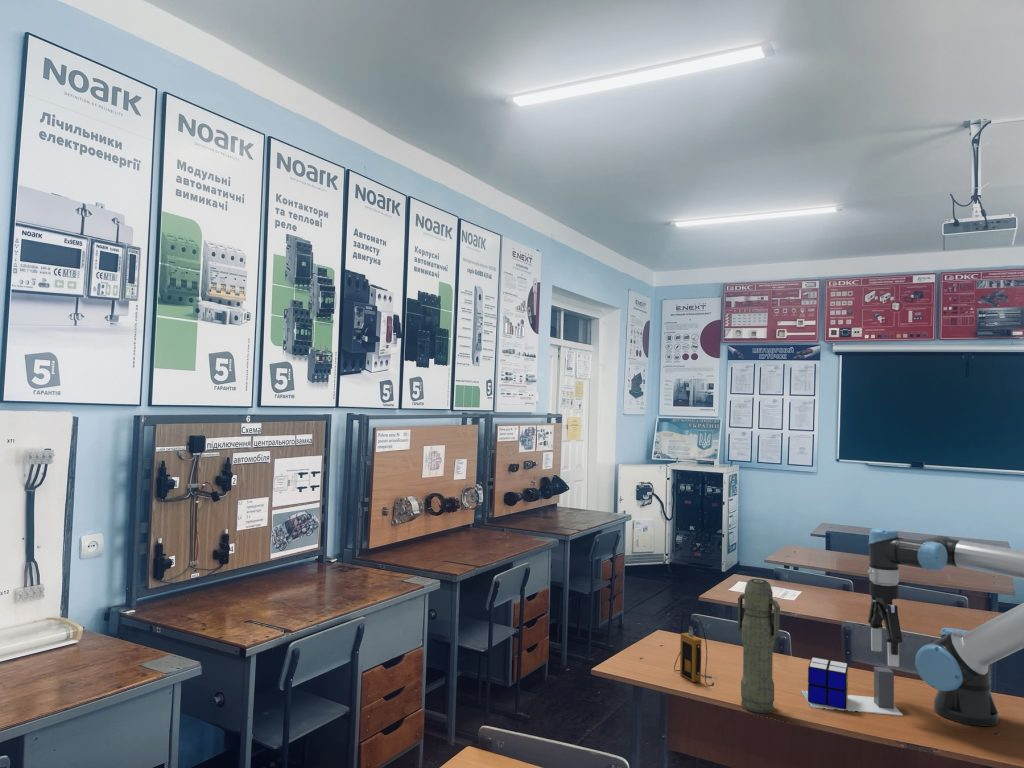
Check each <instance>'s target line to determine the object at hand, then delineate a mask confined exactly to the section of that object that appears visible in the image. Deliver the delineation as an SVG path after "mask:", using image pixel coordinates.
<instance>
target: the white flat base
mask: <svg viewBox="0 0 1024 768" xmlns="http://www.w3.org/2000/svg"><path fill="white" fill-rule="evenodd" d="M894 686H895V673H894V671H893V670H892V669H891V668H889V667H882V666H873V696H864V695H854V694H848V699H847V706H846V709H842V708H837V707H832V706H828V705H822V704H817V703H812V702H809V701H808V690H803V689H802V690H801V694H802V695H803V696H804V698H805V700H806V701H807V703H808V705H809V704H810V705H809V706H810V708H813V709H823V708H825V709H824V710H834V709H838V710H837V711H844V710H848V711H847V712H855V711H858V713H868V714H879V715H890V716H899V717H903V716H904V714H903V713H902V712H901V711H900V710H899V709H898V708H897V706H896V705H895V687H894Z"/></svg>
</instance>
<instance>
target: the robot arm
mask: <svg viewBox="0 0 1024 768" xmlns="http://www.w3.org/2000/svg"><path fill="white" fill-rule="evenodd" d="M868 537H869V538H868V557H869V558H868V559H869V563H868V564H869V565H868V566H869V570H867V574H868V575H869V581H870V582H869V585H868V586H869V591H868V592H869V595H870V596H871V601H870V602H871V603H870V608H869V615H868V618H867V619H868V620H867V622H868V624H870V625H869V626H870V632H871V633H870V643H871V649H870V650H871V651H872V652H883V624H882V623H883V621H884V626H885V630H886V635H887V639H886V644H887V666H888V667H898V668H899V667H900V643H903V637H902V630H901V624H900V619H899V613H898V611H899V610H898V608H899V607H898V605H895V604H894V603H893V600H897V599H899V597H900V586H899V585H898V584H899V583H900V569H899V567H900V566H905V567H906V566H907V567H911V568H912V567H914V568H918V569H923V570H927V571H932V570H933V571H942V570H944V569H945V567H946V566H951V567H955V568H962V569H966V570H972V571H978V572H983V573H987V574H993V575H999V576H1004V577H1007V578H1014V579H1020V580H1024V550H1023V549H1022V550H1021V549H1015V548H1010V547H1009V548H1008V547H1003V546H997V545H990V544H984V543H980V542H979V543H978V542H973V541H967V540H959V539H954V538H952V537H950V536H945V535H937V536H933V537H930V538H924V539H912V538H911V539H910V538H903V537H900V535H899V531H897V530H896V529H891V528H884V527H883V528H882V527H875V528H874V527H873V528H871V529H870V530H869V535H868ZM899 565H900V566H899ZM939 637H940V638H939V639H937V640H935V641H933V642H931V643H929V644H924V645H922V646H921V648H920V649H918V651H917V653H916V654H915V659H914V660H915V663H914V665H915V668H916V671H917V673H918V675H919V677H920V678H921V679H922V680H923V682H924V683H925V684H927V685H928V686H929V687H931V688H933V689H936V690H937V691H936V694H935V696H934V701H933V709H934V711H935V713H937V714H938V715H940V716H942V717H944V718H946V719H948V720H951V721H954V722H958V723H961V724H965V725H969V726H977V727H993V726H996V725H998V724H999V712H998V709H997V705H996V704H995V701H994V698H993V695H992V693H991V665H992V664H993V663H995V662H997V661H999V660H1001V659H1003V658H1005V657H1008V656H1011V655H1012V654H1013V653H1016V652H1018V651H1020V650H1023V649H1024V602H1023V603H1020V604H1019V605H1017V606H1015V607H1013V608H1011V609H1009V610H1007V611H1005V612H1003V613H1001V614H1000V615H997V616H996V617H994V618H992V619H990V620H987V621H986V622H984V623H982V624H980V625H978V626H976V627H974V628H972V629H971V630H964V629H960V628H959V629H958V628H954V627H943V628H941V629H940V634H939Z"/></svg>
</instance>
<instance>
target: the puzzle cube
mask: <svg viewBox="0 0 1024 768" xmlns="http://www.w3.org/2000/svg"><path fill="white" fill-rule="evenodd" d="M848 681H849V664H848V663H846V662H841V661H835V660H829V659H824V658H818V657H811V658H810V662H809V664H808V667H807V691H808V701H809V702H812V703H817V704H822V705H828V706H832V707H837V708H842V709H846V706H847V699H848V695H849V691H848V690H849V684H848V683H849V682H848ZM808 701H807V702H808Z"/></svg>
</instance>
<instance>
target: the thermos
mask: <svg viewBox="0 0 1024 768" xmlns="http://www.w3.org/2000/svg"><path fill="white" fill-rule="evenodd" d="M773 594H774V593H773V589H772V585H771V582H769V581H767V580H766V579H761V578H751V579H749V580H747V582H746V584H745V588H744V593H742V594H740V595H739V597H738V598H737V630H738V631H740V633H741V642H742V644H743V649H742V651H743V652H742V653H743V655H742V657H743V658H742V659H743V661H742V662H743V663H742V666H743V667H742V677H741V680H740V697H741V703H740V705H741V707H743V708H744V709H746V710H747V711H750V712H754V713H759V714H761V713H762V714H768V713H772V712H773V711H774V703H775V681H774V680H773V658H774V657H773V654H774V653H773V648H774V647H775V639H777V638H778V637H779V636H780V616H781V615H780V614H781V611H780V610H781V606H780V605H779V602H778V601H777V600H774V598H773ZM743 600H744V601H743ZM743 604H744V606H743ZM743 607H744V612H743ZM772 613H773V614H772ZM743 614H744V615H743Z"/></svg>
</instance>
